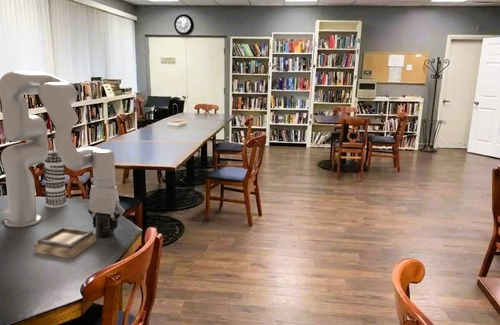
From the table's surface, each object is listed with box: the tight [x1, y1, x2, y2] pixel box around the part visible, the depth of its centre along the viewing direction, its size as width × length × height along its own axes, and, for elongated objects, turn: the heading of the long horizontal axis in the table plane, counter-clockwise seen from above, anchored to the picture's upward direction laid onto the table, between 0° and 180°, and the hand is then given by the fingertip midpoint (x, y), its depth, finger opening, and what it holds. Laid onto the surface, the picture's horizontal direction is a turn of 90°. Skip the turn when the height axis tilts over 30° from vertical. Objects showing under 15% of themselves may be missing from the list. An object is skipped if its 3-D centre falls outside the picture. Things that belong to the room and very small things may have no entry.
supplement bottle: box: [95, 213, 116, 239], centre depth 144 cm, size 7×7×12 cm
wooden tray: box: [33, 226, 97, 259], centre depth 134 cm, size 14×14×4 cm
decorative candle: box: [42, 149, 67, 209], centre depth 172 cm, size 9×9×25 cm
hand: (105, 227), depth 145 cm, fingers closed on supplement bottle, 6 cm apart
